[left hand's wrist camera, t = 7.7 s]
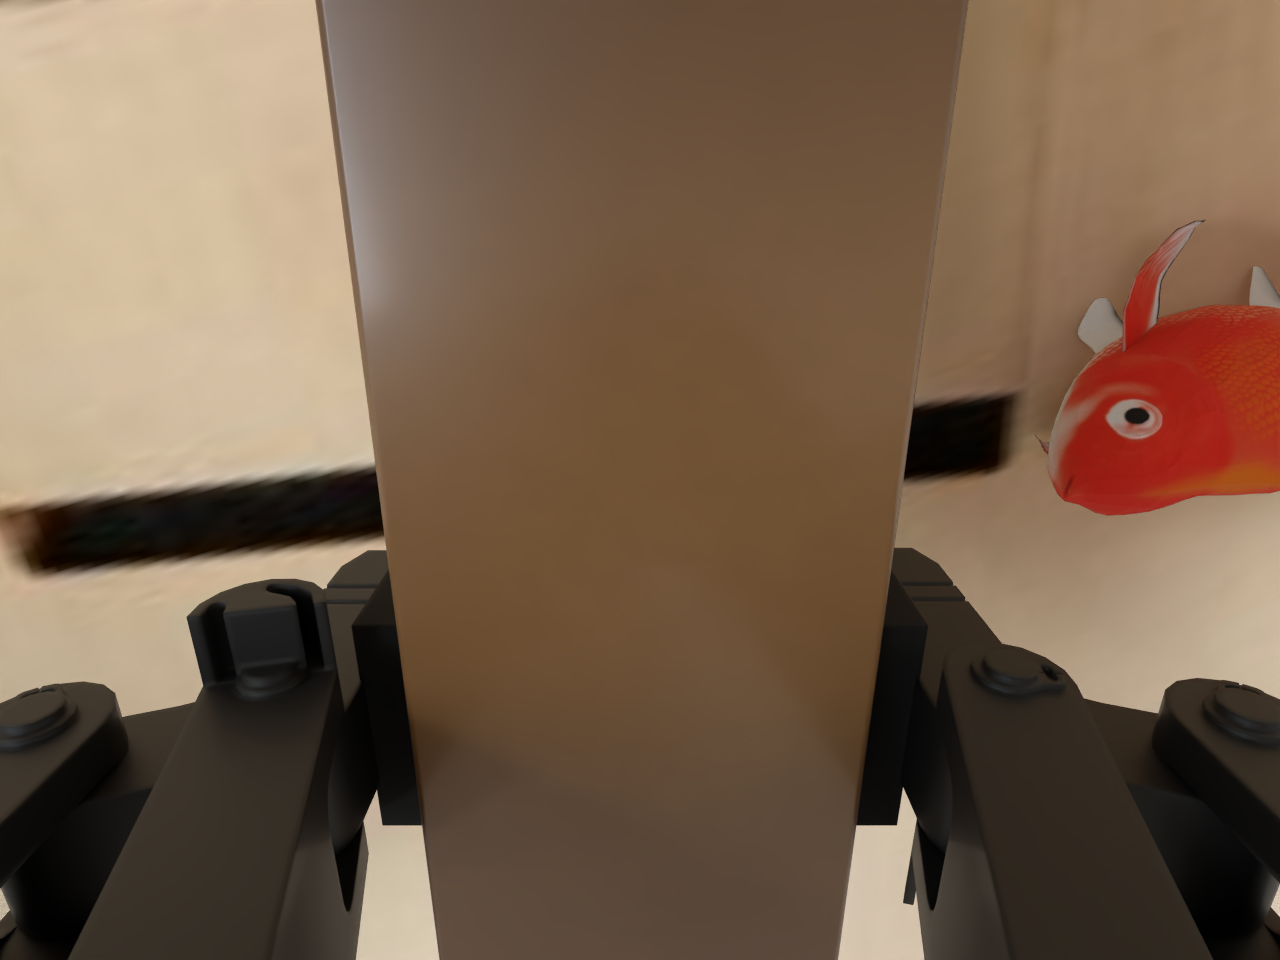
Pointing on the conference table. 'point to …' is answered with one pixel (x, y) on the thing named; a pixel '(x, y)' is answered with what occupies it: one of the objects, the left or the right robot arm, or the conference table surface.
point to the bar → (640, 441)
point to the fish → (1171, 399)
